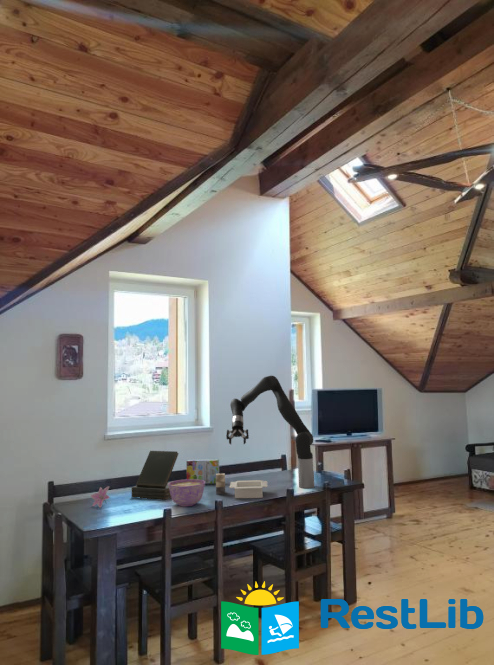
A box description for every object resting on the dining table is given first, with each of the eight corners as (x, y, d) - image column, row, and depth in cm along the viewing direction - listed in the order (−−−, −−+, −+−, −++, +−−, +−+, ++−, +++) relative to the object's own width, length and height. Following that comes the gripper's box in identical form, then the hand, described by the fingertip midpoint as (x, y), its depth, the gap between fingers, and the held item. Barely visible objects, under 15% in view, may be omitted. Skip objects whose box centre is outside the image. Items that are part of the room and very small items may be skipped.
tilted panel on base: (131, 498, 277) (131, 454, 280) (150, 491, 295) (150, 449, 297) (165, 500, 268) (164, 455, 271) (183, 493, 286) (182, 450, 289)
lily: (90, 505, 264) (85, 492, 260) (110, 494, 270) (105, 481, 267) (98, 516, 255) (93, 502, 251) (118, 504, 261) (113, 491, 257)
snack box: (219, 482, 315) (219, 458, 317) (218, 483, 310) (217, 460, 311) (188, 482, 317) (187, 459, 319) (186, 484, 312) (186, 460, 314)
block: (225, 492, 284) (224, 473, 285) (224, 494, 279) (224, 474, 280) (216, 492, 284) (216, 473, 285) (216, 494, 279) (215, 475, 280)
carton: (267, 490, 286) (267, 480, 286) (268, 498, 264) (267, 487, 265) (231, 491, 286) (231, 481, 287) (229, 499, 265) (229, 488, 265)
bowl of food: (160, 505, 255) (160, 483, 256) (188, 498, 270) (188, 477, 271) (185, 511, 242) (185, 488, 243) (213, 503, 257) (213, 481, 258)
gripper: (226, 420, 311) (225, 440, 299) (248, 419, 311) (248, 439, 298) (227, 427, 316) (226, 447, 303) (248, 427, 316) (248, 447, 303)
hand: (237, 443), depth 301 cm, fingers open, 8 cm apart
